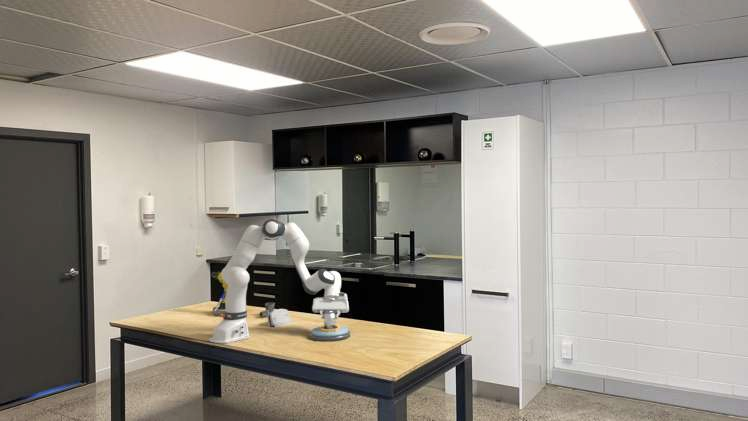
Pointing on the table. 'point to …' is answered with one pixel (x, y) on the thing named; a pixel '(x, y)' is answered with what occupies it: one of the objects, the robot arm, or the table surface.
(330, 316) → the silver can
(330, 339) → the turntable base
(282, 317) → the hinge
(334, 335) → the turntable platter
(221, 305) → the cordless drill
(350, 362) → the table surface
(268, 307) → the pipe
